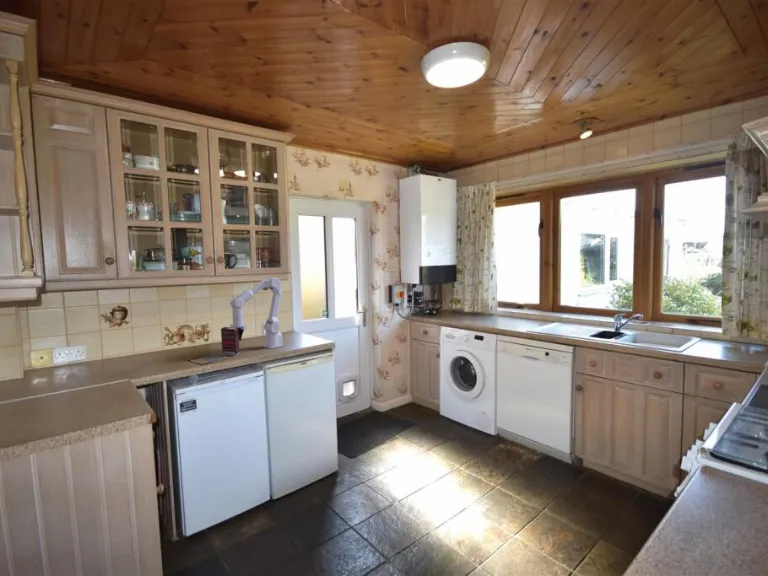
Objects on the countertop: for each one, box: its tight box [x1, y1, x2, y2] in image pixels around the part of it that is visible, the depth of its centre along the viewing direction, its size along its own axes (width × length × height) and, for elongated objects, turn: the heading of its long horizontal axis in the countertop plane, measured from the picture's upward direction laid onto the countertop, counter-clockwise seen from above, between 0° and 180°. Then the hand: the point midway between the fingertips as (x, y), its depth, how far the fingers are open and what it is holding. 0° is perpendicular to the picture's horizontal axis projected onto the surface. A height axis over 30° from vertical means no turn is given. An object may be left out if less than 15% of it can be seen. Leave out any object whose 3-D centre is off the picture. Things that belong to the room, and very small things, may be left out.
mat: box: [201, 353, 233, 363], centre depth 216 cm, size 18×16×1 cm
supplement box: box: [220, 326, 240, 356], centre depth 224 cm, size 9×5×16 cm, turn 84°
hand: (239, 340), depth 229 cm, fingers closed
